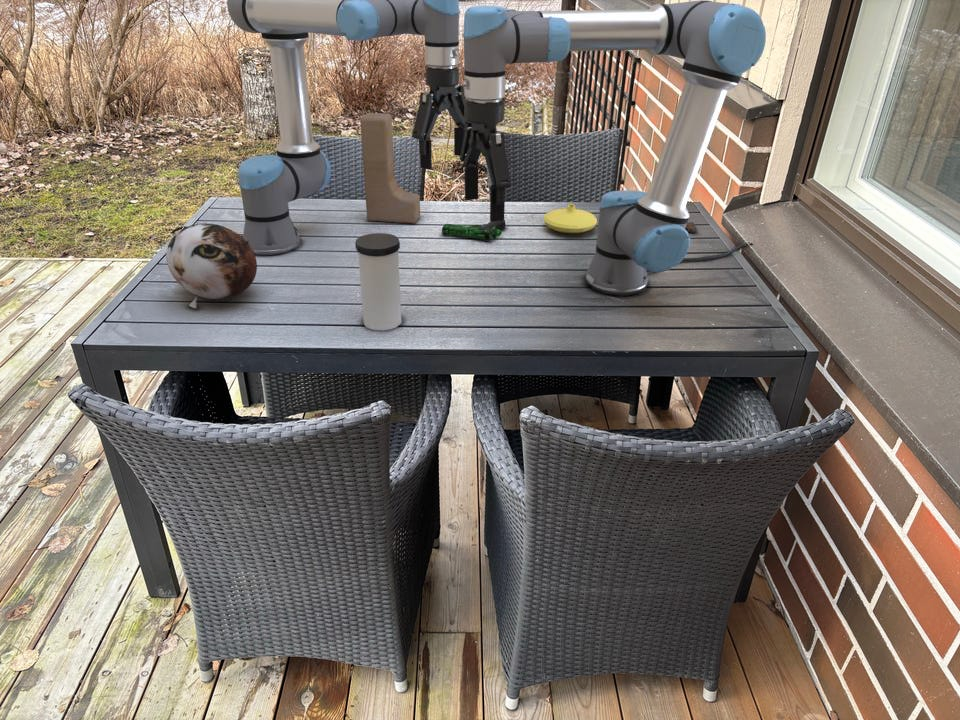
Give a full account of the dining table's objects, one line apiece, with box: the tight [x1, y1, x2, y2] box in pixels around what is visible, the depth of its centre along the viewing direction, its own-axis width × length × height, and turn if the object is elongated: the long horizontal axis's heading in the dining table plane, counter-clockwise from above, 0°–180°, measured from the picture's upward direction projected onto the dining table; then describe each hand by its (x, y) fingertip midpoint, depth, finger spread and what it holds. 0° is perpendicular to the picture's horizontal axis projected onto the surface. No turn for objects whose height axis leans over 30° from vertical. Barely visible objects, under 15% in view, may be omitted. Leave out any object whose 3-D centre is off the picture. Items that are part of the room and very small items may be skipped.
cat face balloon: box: [165, 222, 258, 309], centre depth 165 cm, size 22×18×20 cm
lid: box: [354, 232, 401, 256], centre depth 150 cm, size 9×9×2 cm
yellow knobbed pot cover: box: [543, 203, 598, 234], centre depth 209 cm, size 16×16×7 cm
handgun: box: [441, 219, 506, 242], centre depth 207 cm, size 16×3×15 cm
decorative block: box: [359, 112, 421, 224], centre depth 209 cm, size 8×15×30 cm, turn 82°
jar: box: [357, 250, 402, 331], centre depth 155 cm, size 8×8×19 cm
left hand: (443, 161), depth 169 cm, fingers open, 13 cm apart
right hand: (483, 209), depth 144 cm, fingers open, 13 cm apart
